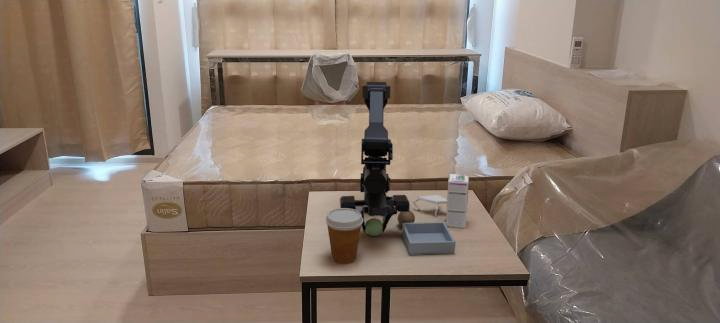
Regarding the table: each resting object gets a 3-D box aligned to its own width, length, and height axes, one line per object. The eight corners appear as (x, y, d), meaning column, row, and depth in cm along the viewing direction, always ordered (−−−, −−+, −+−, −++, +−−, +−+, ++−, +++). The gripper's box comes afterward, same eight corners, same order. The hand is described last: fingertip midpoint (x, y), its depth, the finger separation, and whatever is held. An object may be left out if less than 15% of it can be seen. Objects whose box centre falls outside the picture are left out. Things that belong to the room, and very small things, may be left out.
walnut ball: (396, 222, 157) (396, 207, 155) (412, 222, 158) (413, 206, 156) (398, 230, 152) (399, 214, 151) (416, 229, 153) (416, 213, 151)
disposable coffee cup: (335, 270, 131) (335, 226, 127) (319, 253, 139) (319, 211, 135) (369, 261, 135) (370, 218, 131) (352, 245, 143) (352, 204, 139)
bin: (401, 234, 150) (402, 222, 149) (443, 233, 151) (444, 221, 150) (409, 255, 139) (410, 243, 138) (454, 253, 140) (455, 241, 139)
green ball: (363, 231, 152) (364, 215, 150) (381, 230, 152) (381, 214, 150) (365, 239, 147) (366, 223, 145) (383, 239, 147) (384, 222, 146)
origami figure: (449, 207, 169) (450, 192, 167) (453, 218, 161) (454, 203, 159) (411, 206, 169) (412, 191, 167) (413, 217, 161) (413, 202, 159)
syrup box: (465, 228, 154) (469, 181, 149) (444, 226, 155) (448, 180, 150) (465, 220, 159) (469, 174, 155) (445, 218, 160) (449, 173, 156)
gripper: (342, 191, 136) (342, 246, 141) (414, 190, 137) (411, 244, 142) (339, 176, 146) (339, 227, 151) (407, 175, 148) (404, 226, 153)
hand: (373, 231), depth 149 cm, fingers closed on green ball, 5 cm apart
